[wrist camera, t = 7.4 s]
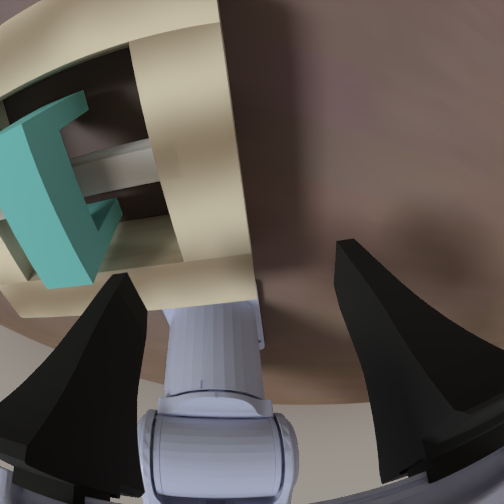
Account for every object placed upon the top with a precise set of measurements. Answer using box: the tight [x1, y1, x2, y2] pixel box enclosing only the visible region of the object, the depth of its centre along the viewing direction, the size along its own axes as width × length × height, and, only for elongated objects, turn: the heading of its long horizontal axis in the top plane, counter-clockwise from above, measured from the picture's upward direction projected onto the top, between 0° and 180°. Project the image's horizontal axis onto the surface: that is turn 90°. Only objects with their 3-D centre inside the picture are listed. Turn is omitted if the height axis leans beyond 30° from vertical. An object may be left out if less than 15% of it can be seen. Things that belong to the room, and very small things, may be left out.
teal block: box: [0, 90, 123, 289], centre depth 13 cm, size 8×3×6 cm, turn 6°
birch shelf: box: [0, 0, 257, 318], centre depth 14 cm, size 18×18×5 cm
